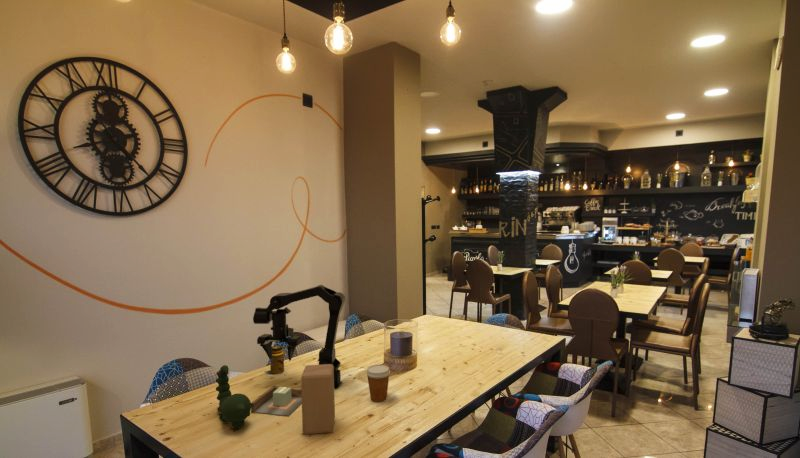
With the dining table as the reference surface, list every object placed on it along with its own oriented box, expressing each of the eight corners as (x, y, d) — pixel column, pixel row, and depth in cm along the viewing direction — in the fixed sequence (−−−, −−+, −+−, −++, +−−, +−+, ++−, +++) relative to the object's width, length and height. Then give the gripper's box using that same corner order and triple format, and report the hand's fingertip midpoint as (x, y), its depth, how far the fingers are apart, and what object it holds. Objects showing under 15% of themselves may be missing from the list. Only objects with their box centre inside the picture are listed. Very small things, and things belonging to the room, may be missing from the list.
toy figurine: (210, 417, 147) (229, 440, 128) (207, 365, 148) (226, 380, 129) (236, 409, 153) (259, 429, 134) (233, 359, 154) (255, 372, 135)
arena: (307, 397, 158) (307, 389, 158) (288, 416, 143) (288, 407, 143) (273, 394, 162) (273, 385, 162) (251, 412, 147) (250, 403, 147)
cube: (285, 406, 150) (284, 393, 150) (273, 405, 151) (272, 392, 151) (291, 400, 155) (291, 387, 154) (280, 399, 156) (279, 386, 156)
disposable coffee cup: (372, 406, 150) (371, 375, 149) (362, 396, 158) (362, 366, 158) (395, 400, 154) (394, 370, 154) (384, 391, 163) (383, 362, 162)
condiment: (286, 373, 184) (286, 347, 184) (268, 377, 179) (267, 351, 179) (282, 368, 190) (281, 343, 190) (263, 372, 185) (263, 346, 185)
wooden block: (306, 420, 141) (305, 364, 140) (335, 418, 142) (333, 362, 141) (302, 435, 131) (300, 375, 130) (332, 433, 132) (331, 374, 131)
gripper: (308, 319, 175) (308, 354, 176) (270, 317, 180) (271, 352, 180) (295, 326, 165) (296, 363, 165) (255, 324, 169) (256, 360, 170)
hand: (280, 359), depth 170 cm, fingers open, 9 cm apart
